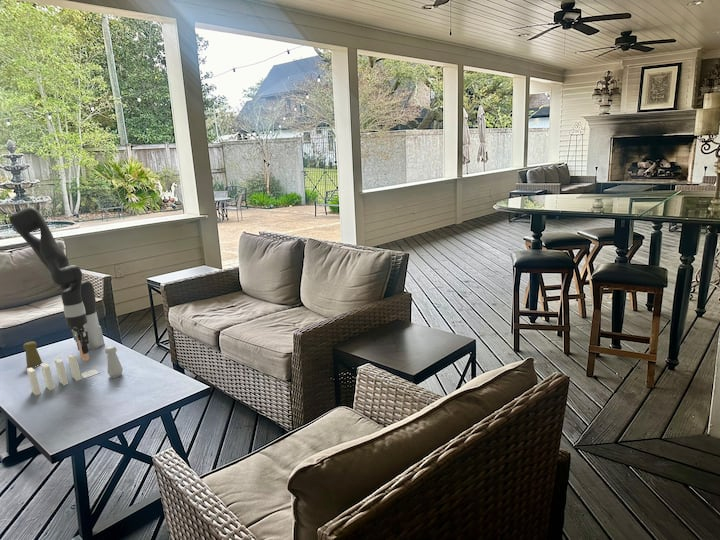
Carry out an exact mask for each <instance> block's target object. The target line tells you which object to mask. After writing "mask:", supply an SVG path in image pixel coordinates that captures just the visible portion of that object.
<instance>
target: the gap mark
mask: <svg viewBox="0 0 720 540" xmlns="http://www.w3.org/2000/svg"><path fill="white" fill-rule="evenodd" d="M98 373H99V374H100V372H99V371H97V370H96V369H95V368H93V369H90V370H88V371H85V372H82V373H80V375H81V378H84V379H87V378H90V377H92V376H95V375H98Z"/></svg>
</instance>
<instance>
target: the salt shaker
mask: <svg viewBox="0 0 720 540" xmlns="http://www.w3.org/2000/svg"><path fill="white" fill-rule="evenodd" d="M104 352H105V354H106V355H107V372H106V373H107V374H108V375H109V377H110V378H111V379H116V378H120V377H121V375H122V374H123V369H124V368H123V366H122V364H121V362H120V360H119V357H118V355H117V347H116V346H114V345H111V346H107V347H105V349H104Z"/></svg>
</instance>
